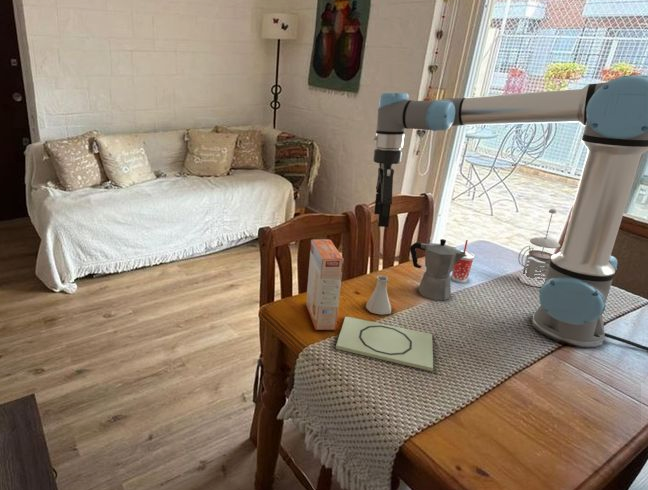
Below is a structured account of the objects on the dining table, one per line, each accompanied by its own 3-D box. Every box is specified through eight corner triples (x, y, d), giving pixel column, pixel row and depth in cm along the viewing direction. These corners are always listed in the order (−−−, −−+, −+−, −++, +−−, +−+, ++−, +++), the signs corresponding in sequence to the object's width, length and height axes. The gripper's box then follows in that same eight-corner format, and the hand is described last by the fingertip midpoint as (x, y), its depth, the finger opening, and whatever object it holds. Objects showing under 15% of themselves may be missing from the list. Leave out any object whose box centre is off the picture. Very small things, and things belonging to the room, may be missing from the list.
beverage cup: (450, 273, 150) (458, 235, 145) (471, 278, 146) (478, 239, 142) (447, 280, 145) (454, 240, 140) (468, 285, 141) (476, 245, 137)
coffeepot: (458, 292, 137) (469, 238, 131) (456, 305, 129) (467, 249, 123) (406, 280, 144) (414, 229, 138) (401, 292, 136) (409, 238, 131)
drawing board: (431, 337, 113) (432, 333, 113) (432, 371, 100) (433, 367, 100) (345, 319, 122) (345, 315, 121) (335, 348, 108) (336, 345, 108)
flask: (388, 303, 130) (392, 272, 127) (394, 316, 123) (399, 284, 120) (363, 302, 131) (366, 271, 127) (368, 314, 124) (372, 283, 121)
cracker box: (337, 331, 116) (344, 258, 109) (314, 331, 116) (320, 258, 109) (325, 304, 129) (331, 238, 122) (305, 304, 129) (310, 238, 122)
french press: (560, 288, 140) (581, 214, 132) (523, 288, 140) (542, 213, 132) (540, 275, 149) (558, 204, 141) (505, 274, 149) (521, 204, 141)
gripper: (371, 143, 138) (365, 208, 144) (378, 154, 114) (370, 231, 120) (396, 144, 136) (389, 210, 142) (408, 155, 113) (399, 233, 119)
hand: (380, 220), depth 131 cm, fingers open, 13 cm apart
